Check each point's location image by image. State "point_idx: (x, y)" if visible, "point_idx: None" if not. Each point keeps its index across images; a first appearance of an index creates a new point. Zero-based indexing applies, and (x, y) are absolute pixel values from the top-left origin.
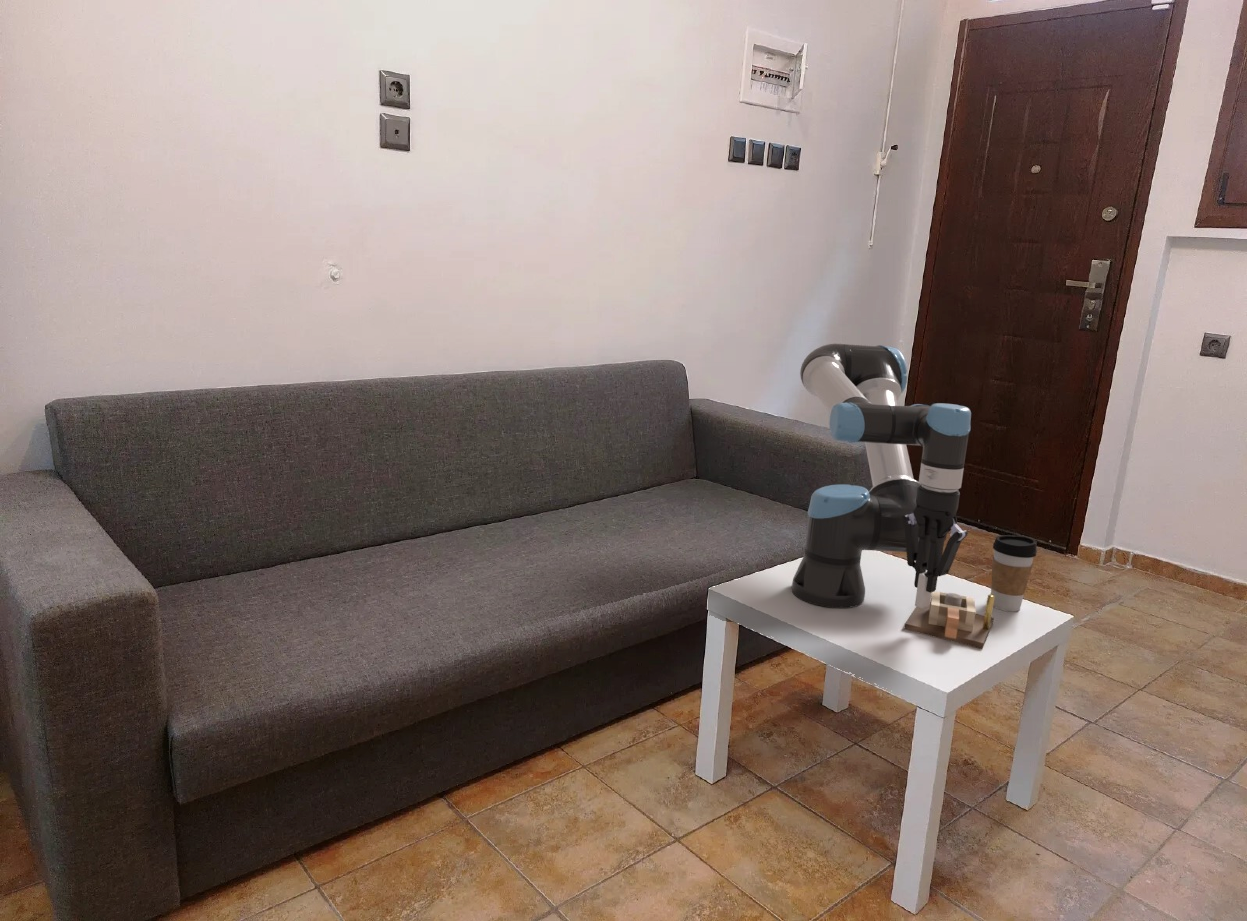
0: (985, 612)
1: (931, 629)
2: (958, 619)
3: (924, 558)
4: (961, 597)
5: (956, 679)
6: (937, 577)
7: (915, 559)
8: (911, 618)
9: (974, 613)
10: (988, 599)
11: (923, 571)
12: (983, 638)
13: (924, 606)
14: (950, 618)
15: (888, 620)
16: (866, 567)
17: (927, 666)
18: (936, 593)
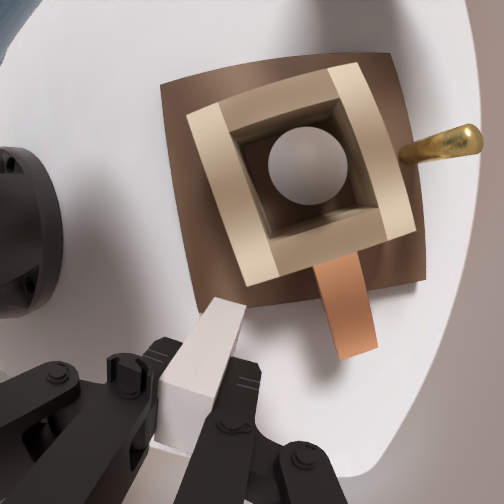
0: (426, 155)
1: (278, 299)
2: (375, 347)
3: (116, 494)
4: (343, 158)
5: (381, 443)
6: (254, 420)
7: (54, 415)
8: (195, 259)
9: (411, 230)
10: (458, 151)
11: (153, 420)
12: (421, 244)
13: (237, 340)
14: (348, 354)
15: (147, 275)
16: (29, 21)
17: (324, 440)
18: (212, 131)
